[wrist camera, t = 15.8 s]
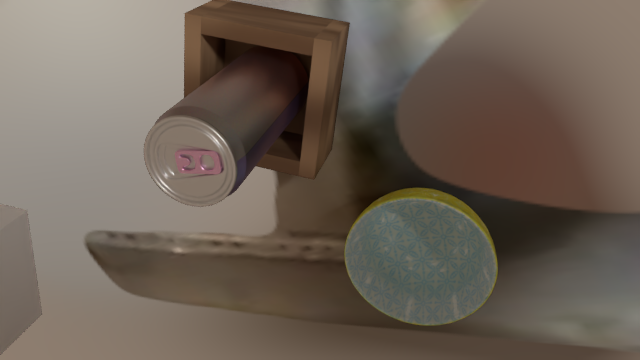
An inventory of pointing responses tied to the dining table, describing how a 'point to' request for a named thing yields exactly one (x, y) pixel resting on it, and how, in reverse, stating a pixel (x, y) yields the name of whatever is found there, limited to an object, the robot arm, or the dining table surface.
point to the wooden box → (285, 34)
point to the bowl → (421, 257)
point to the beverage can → (225, 126)
